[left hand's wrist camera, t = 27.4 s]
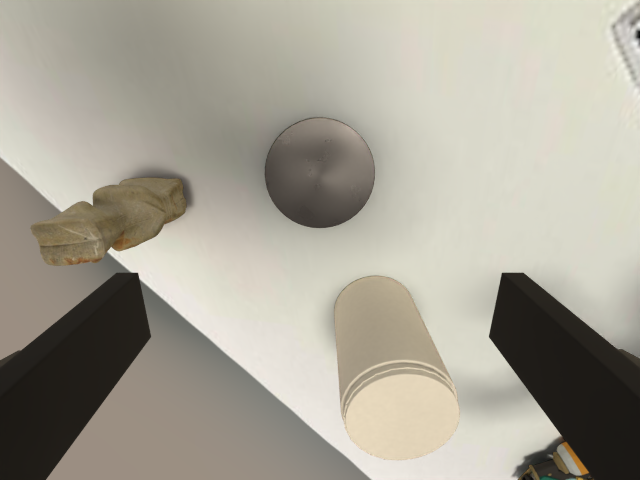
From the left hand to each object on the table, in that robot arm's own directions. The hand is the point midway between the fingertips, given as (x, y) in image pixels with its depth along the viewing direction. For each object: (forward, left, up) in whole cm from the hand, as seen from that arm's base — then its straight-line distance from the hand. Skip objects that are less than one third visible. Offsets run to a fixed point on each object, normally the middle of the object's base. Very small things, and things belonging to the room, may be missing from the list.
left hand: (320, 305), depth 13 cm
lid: (0, 0, -26) cm, 26 cm away
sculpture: (-10, -15, -28) cm, 33 cm away
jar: (+18, -6, -28) cm, 34 cm away
